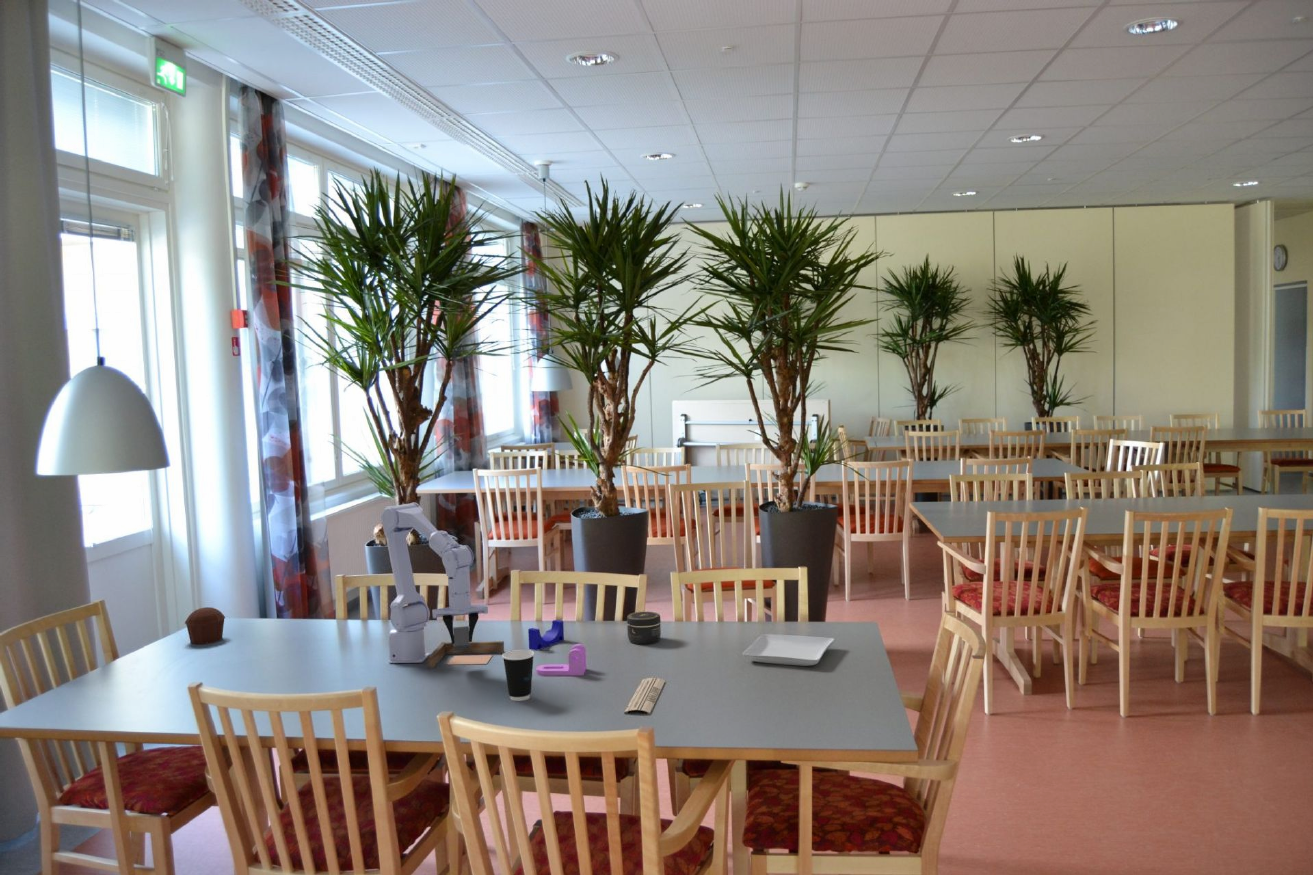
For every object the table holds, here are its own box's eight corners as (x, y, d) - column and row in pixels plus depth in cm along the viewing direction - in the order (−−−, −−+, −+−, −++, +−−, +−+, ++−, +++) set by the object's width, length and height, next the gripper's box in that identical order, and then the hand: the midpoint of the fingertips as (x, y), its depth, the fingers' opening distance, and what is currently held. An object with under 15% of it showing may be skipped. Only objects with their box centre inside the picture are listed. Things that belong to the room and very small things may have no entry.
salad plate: (741, 665, 263) (740, 652, 263) (762, 643, 282) (762, 632, 282) (818, 672, 255) (818, 659, 255) (835, 649, 274) (835, 637, 274)
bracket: (586, 669, 263) (585, 643, 262) (583, 675, 257) (582, 649, 257) (538, 669, 264) (537, 644, 263) (534, 676, 258) (533, 650, 258)
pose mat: (447, 664, 270) (447, 664, 270) (454, 656, 278) (454, 655, 278) (486, 664, 269) (486, 663, 269) (492, 655, 277) (492, 655, 277)
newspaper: (642, 684, 250) (641, 677, 250) (669, 684, 249) (669, 677, 249) (624, 716, 227) (624, 709, 227) (654, 717, 226) (654, 709, 226)
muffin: (201, 635, 310) (199, 604, 309) (233, 635, 309) (231, 604, 308) (178, 645, 298) (176, 613, 298) (211, 645, 297) (209, 613, 296)
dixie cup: (537, 701, 238) (536, 656, 237) (505, 704, 236) (503, 659, 235) (534, 690, 246) (532, 647, 245) (502, 694, 244) (500, 650, 243)
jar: (620, 642, 287) (619, 616, 287) (640, 634, 295) (639, 609, 295) (648, 647, 281) (647, 621, 281) (667, 638, 290) (667, 613, 289)
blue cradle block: (552, 638, 294) (551, 619, 294) (563, 640, 291) (563, 620, 291) (525, 648, 284) (524, 628, 284) (536, 650, 282) (535, 630, 281)
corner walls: (428, 668, 267) (427, 657, 267) (442, 652, 282) (441, 642, 282) (493, 667, 266) (492, 656, 266) (504, 651, 281) (503, 641, 281)
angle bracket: (469, 649, 262) (468, 626, 262) (454, 650, 261) (453, 628, 261) (468, 643, 269) (467, 621, 269) (453, 644, 268) (452, 622, 268)
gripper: (432, 597, 256) (434, 648, 257) (488, 592, 259) (490, 643, 260) (431, 591, 262) (433, 641, 263) (486, 587, 266) (488, 636, 267)
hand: (461, 641), depth 262 cm, fingers closed on angle bracket, 4 cm apart
